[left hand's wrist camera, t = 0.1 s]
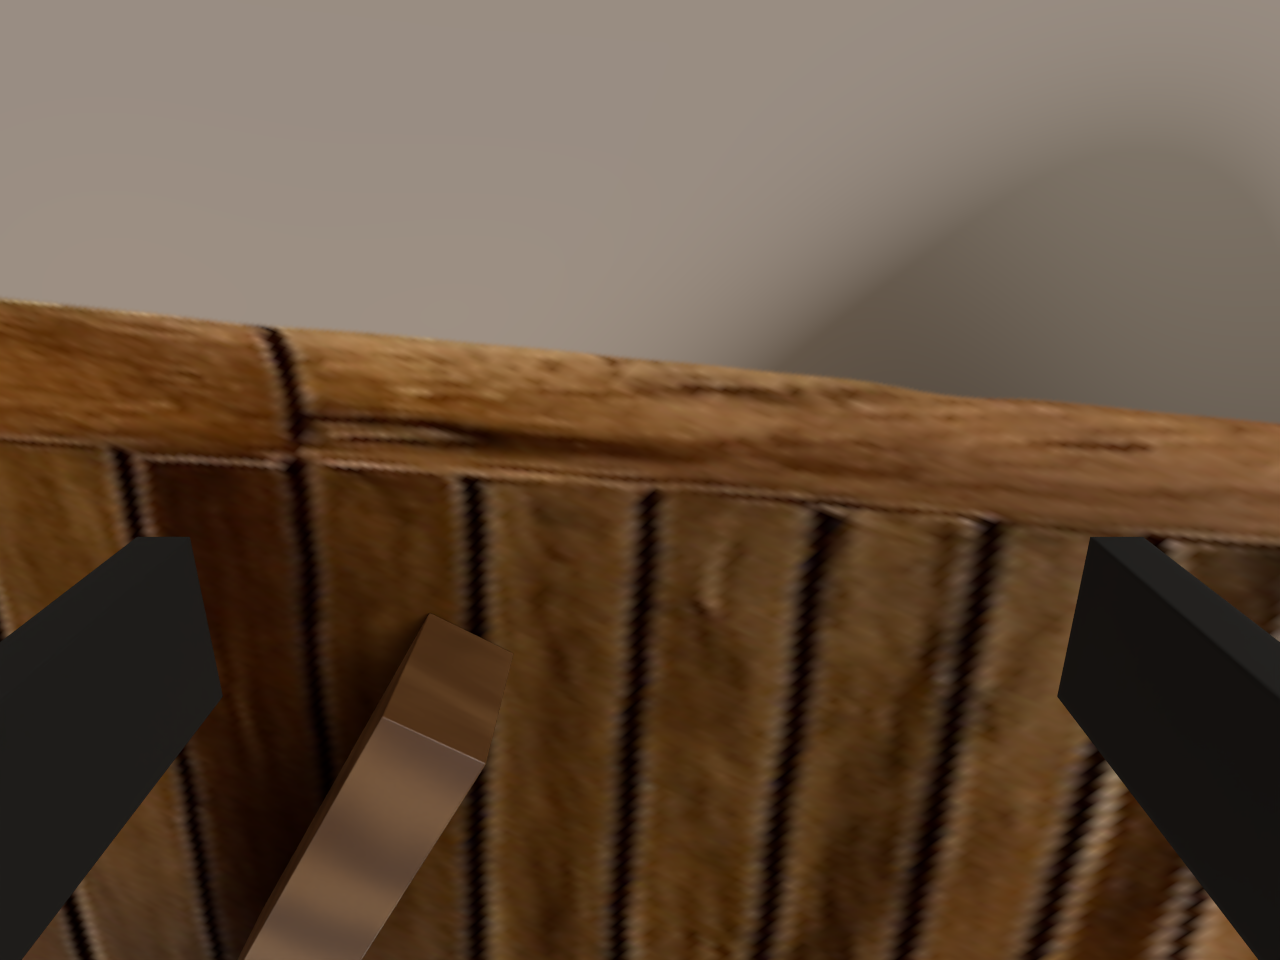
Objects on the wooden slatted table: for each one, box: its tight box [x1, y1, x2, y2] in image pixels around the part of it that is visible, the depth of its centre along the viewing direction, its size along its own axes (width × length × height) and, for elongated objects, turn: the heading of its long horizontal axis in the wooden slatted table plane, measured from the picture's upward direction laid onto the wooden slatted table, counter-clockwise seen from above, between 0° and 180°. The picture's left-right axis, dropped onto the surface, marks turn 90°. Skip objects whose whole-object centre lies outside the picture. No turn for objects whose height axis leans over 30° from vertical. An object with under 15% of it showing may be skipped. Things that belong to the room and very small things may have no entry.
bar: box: [237, 613, 513, 960], centre depth 44 cm, size 24×5×9 cm, turn 150°
